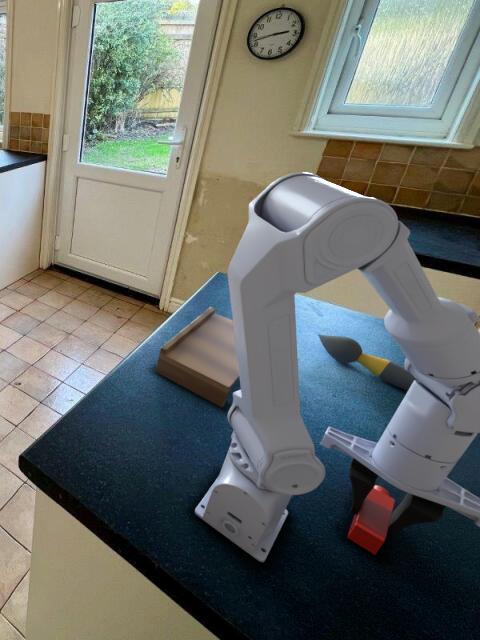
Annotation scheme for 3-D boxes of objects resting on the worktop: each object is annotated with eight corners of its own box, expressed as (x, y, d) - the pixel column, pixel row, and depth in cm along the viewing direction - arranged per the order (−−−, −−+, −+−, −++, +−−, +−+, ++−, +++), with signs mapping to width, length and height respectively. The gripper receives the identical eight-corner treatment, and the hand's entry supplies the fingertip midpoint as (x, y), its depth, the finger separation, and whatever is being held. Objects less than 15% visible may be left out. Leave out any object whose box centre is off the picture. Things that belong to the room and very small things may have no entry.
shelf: (222, 407, 71) (231, 382, 68) (155, 371, 79) (160, 347, 77) (266, 354, 83) (275, 331, 81) (204, 328, 92) (211, 306, 89)
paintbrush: (451, 397, 72) (466, 375, 70) (447, 411, 70) (462, 388, 68) (314, 343, 87) (323, 323, 85) (306, 352, 84) (315, 332, 82)
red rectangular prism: (375, 555, 49) (384, 542, 48) (346, 537, 51) (355, 524, 50) (389, 505, 55) (398, 492, 54) (362, 491, 57) (370, 477, 56)
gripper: (523, 464, 44) (459, 543, 49) (347, 389, 54) (311, 461, 59) (524, 506, 39) (454, 586, 45) (333, 416, 50) (296, 491, 55)
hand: (372, 518), depth 52 cm, fingers closed on red rectangular prism, 3 cm apart
